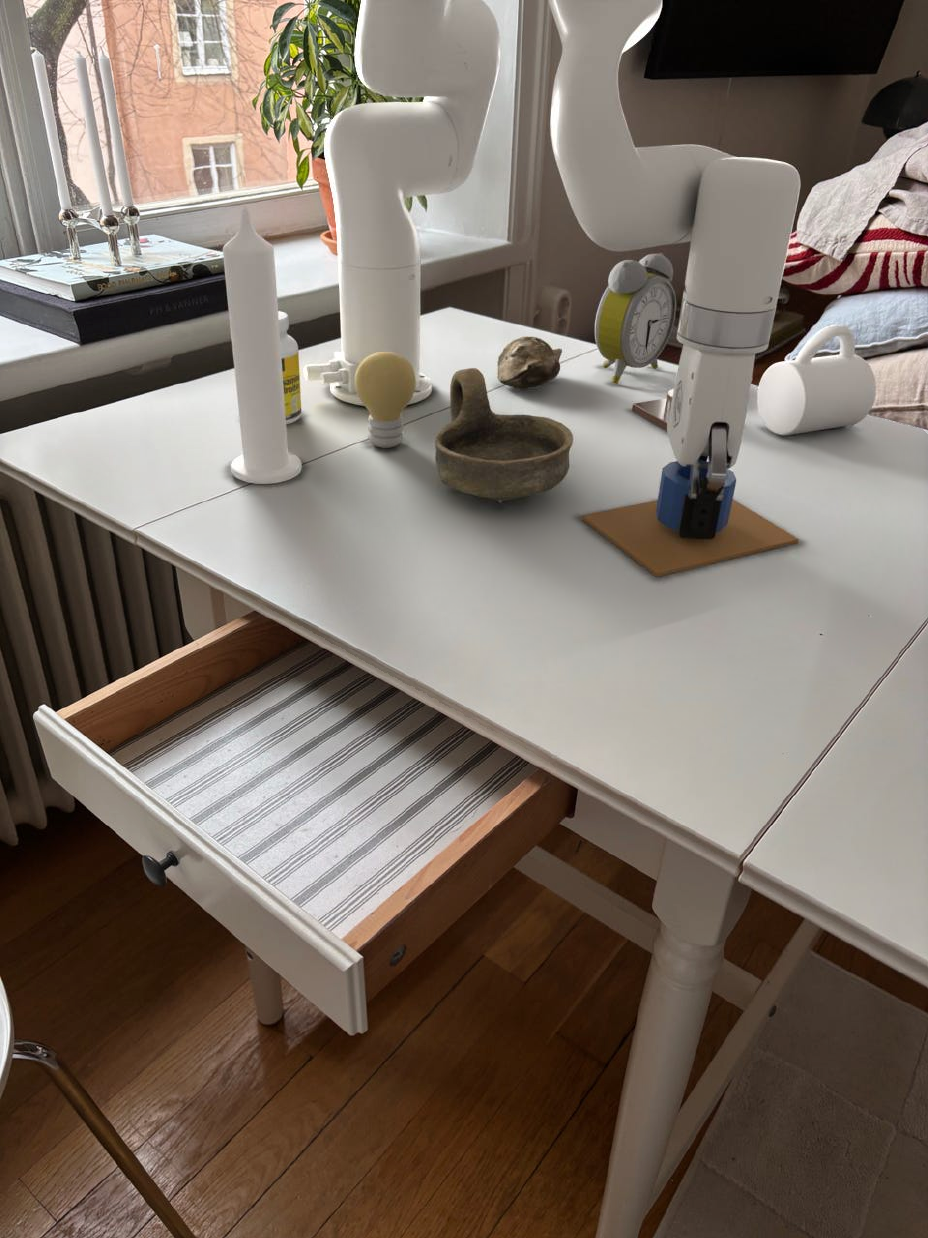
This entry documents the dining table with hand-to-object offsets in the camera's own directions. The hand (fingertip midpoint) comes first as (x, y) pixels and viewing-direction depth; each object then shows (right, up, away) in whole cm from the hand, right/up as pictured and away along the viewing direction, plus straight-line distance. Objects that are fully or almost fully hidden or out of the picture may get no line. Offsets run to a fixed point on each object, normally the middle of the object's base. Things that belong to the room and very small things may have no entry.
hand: (690, 517), depth 89 cm
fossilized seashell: (-13, +21, +35) cm, 43 cm away
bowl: (-18, +4, +8) cm, 20 cm away
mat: (0, -1, +1) cm, 1 cm away
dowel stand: (+5, +15, +26) cm, 30 cm away
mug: (+20, +13, +25) cm, 34 cm away
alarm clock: (0, +23, +40) cm, 46 cm away
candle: (-41, +6, +9) cm, 43 cm away
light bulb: (-30, +10, +16) cm, 35 cm away
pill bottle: (-43, +14, +22) cm, 50 cm away
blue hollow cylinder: (0, 0, 0) cm, 0 cm away
